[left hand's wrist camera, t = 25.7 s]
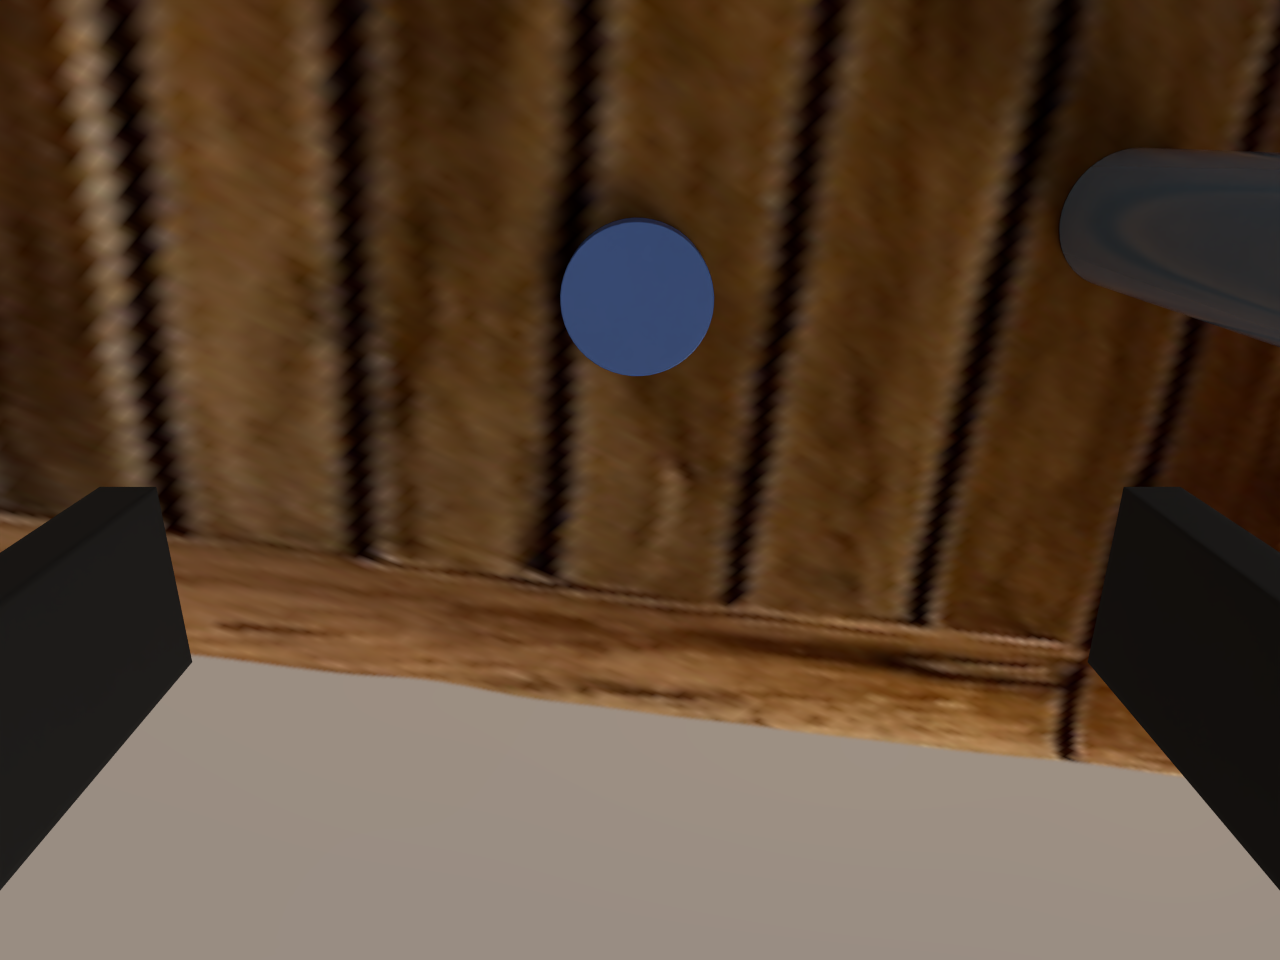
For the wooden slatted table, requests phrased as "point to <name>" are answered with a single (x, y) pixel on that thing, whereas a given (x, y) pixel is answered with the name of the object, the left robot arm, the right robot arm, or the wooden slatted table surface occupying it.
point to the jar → (1183, 233)
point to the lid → (637, 297)
